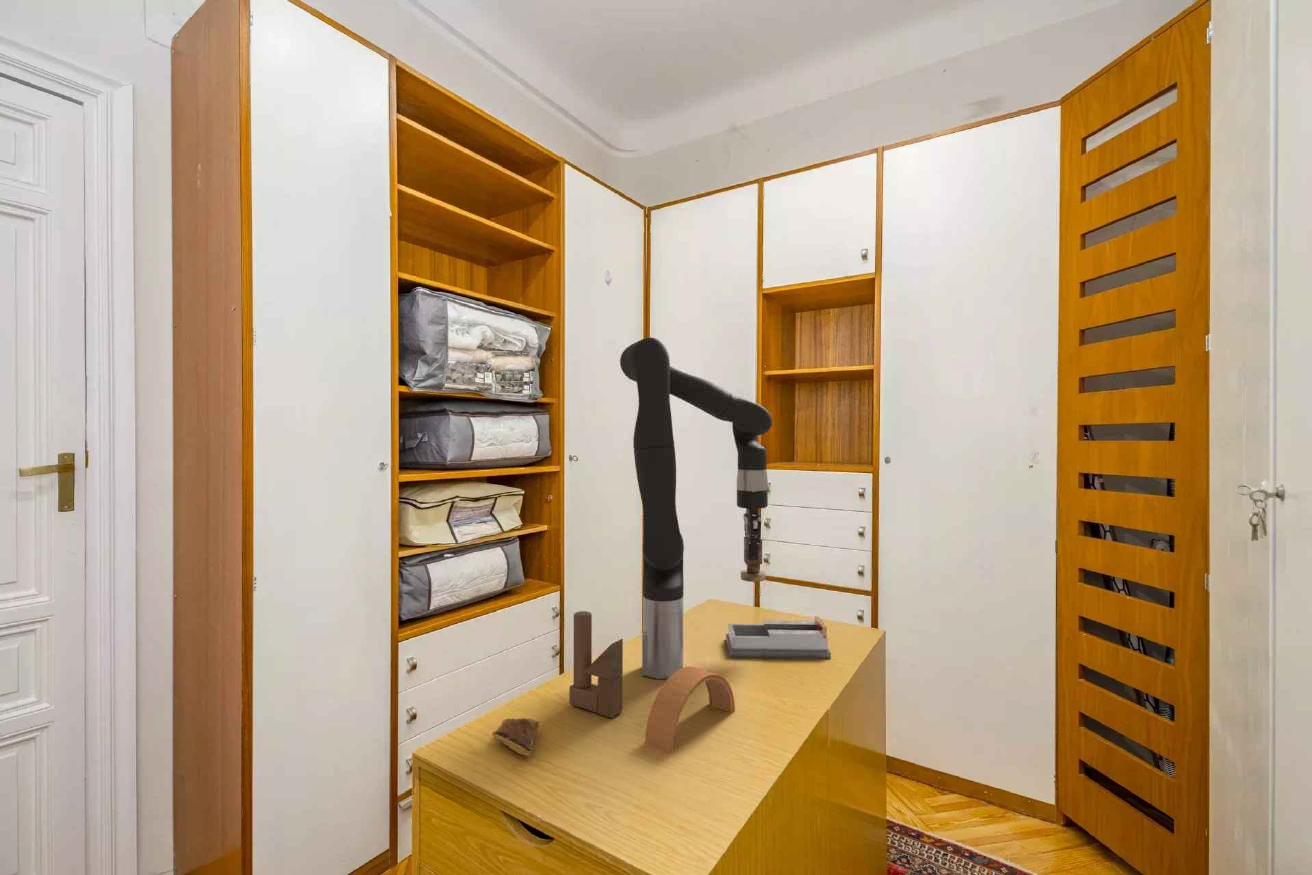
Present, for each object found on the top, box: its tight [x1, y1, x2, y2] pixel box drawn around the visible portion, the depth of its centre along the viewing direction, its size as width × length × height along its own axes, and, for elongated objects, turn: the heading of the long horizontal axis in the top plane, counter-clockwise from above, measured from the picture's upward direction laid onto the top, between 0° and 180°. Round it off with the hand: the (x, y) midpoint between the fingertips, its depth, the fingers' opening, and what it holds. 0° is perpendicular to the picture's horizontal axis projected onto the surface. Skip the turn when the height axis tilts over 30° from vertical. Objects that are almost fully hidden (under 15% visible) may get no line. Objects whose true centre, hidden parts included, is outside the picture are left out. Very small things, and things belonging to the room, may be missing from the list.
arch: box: [644, 665, 736, 755], centre depth 107 cm, size 6×20×10 cm, turn 139°
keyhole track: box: [725, 615, 832, 660], centre depth 145 cm, size 24×12×7 cm, turn 88°
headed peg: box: [740, 536, 766, 583], centre depth 143 cm, size 6×6×10 cm
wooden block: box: [568, 610, 624, 719], centre depth 114 cm, size 4×11×18 cm, turn 57°
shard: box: [492, 718, 540, 758], centre depth 100 cm, size 11×8×2 cm
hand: (752, 557), depth 143 cm, fingers closed on headed peg, 4 cm apart
